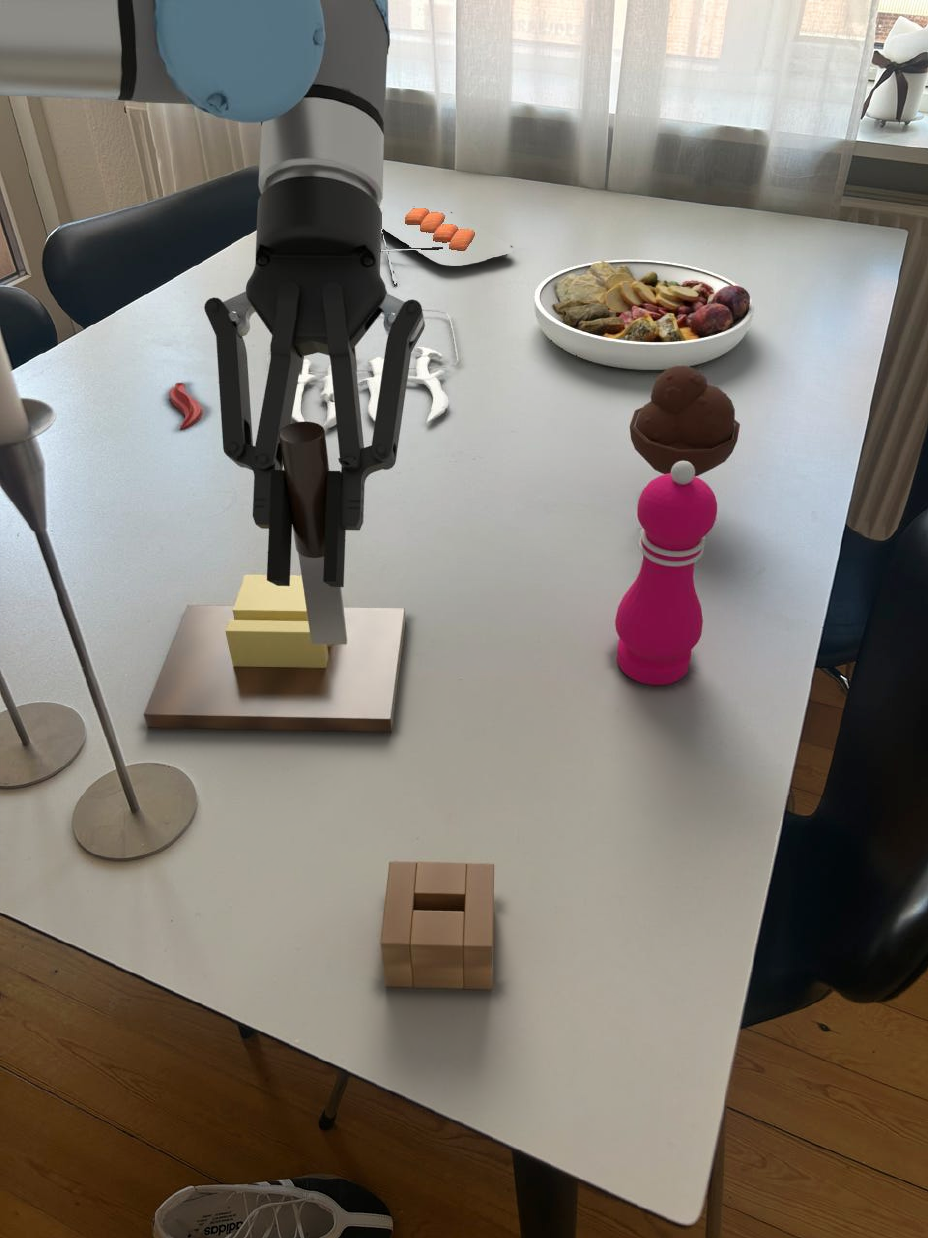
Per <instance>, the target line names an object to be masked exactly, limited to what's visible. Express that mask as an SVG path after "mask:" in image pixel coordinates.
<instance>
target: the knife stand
mask: <svg viewBox="0 0 928 1238" xmlns="http://www.w3.org/2000/svg"><path fill="white" fill-rule="evenodd" d="M494 908H495V863H487V862H486V863H485V862H484V863H483V862H454V861H453V862H451V861H450V862H448V861H399V860H398V861H397V860H390V861H389V862H388V871H387V879H386V888H385V897H384V906H383V915H382V924H381V933H380V941H379V945H380V953H381V961H382V970H383V971H382V972H383V978H384V986H385V987H387V988H388V987H390V988H391V987H392V988H418V989H419V988H421V989H422V988H424V989H453V990H454V989H456V990H457V989H458V990H463V989H464V990H488V991H489V990H492V989H493V979H494V978H493V975H494V974H493V973H494V971H493V970H494V920H495V918H494V916H495V915H494V913H495V912H494Z"/></svg>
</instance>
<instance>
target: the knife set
mask: <svg viewBox="0 0 928 1238" xmlns="http://www.w3.org/2000/svg"><path fill="white" fill-rule="evenodd" d="M422 312H434V313H435V312H436V313H441V314H444V315H446V316H447V318H448V320H449V322H450V326H451V332H452V336H453V342H454V348H455V349H454V350H455V355H456V362H455V363H454V364H452V365H450V366H449V367H455V366H456V365H457V364H458V362H459V354H458V348H457V343H456V336H455V331H454V326H453V322H452V319H451V317H450V316H449V314H448V313H447V312H445V311H442V310H434V309H422ZM270 346H271V343H270V344H269V346H268V347H269V348H268V351H267V353H266V361H267V363H268V365H270V361H269V354H270ZM413 351H414V352H416V353H418V354H420V357H418V358H417V359H416V360H415V361H416V366H415V367H409V370H415V371H416V376H412V375H408V379H407V383H413V384H419V385H425V386H426V387H427V388H428V389H429V391H430V394H431V395H432V404H431V408H430V413H429V414H428V416H427V421H426V423H429V422H431V421H433V420H435V419H436V418H438V417H439V416H441V415H442V414H444V413H445V412H446V410H447V408H448V407H449V397H448V395H447V394H446V392H445V391H444V390H443V388H442V385H441V384H442V383H441V382H440V380H439V379H440V378H442V376H444V374H445V371H444V370H443V369H447V368H448V366H429V364H430V362H431V360H432V359H431V358H435V359H437V360H441V359H443V358H444V356H443V354H442V353H440V352H439V351H437V350H434V349H431V348H428V347H424V346H416V347H414V349H413ZM366 363H367V364H368V366H369V367H371V369H357V373H359V372H372V374H373V377H366V378H363V379H361V380H360V381H358V387H363V386H366V385H367V387H368V390H369V392H370V399H369V401H368V405H367V413H368V414H369V417H370V418H371V420H373V421H374V422H375V418H376V412H377V405H378V398H379V391H380V384H381V377H382V370H383V363H384V358H383V357H381V356H376V357H375V358H374V359H372V360H370V359H367V361H366ZM312 364H313V362H312V361H311V360H309V359H307V358H304V361H303V367H302V370H301V372H300V373H299V377H298V383H297V389H296V395H295V400H294V406H293V412H292V418H291V419H293V420H294V421H296V422H306V421H305V418H304V416H303V415H302V399H303V397H302V396H303V393H304V390H305V386H306V385H307V384H308V383H309V382H311V381H313V380H314V379H316V378H317V376H316V375H313V374H326V375H325V376H323V377H322V378H321V379H320V381H319V382H320V383H321V384H322V385H323V390H321V392H320V394H319V398H320V400H322V401H323V402H326V403H327V404H326V406H327V409H326V410H327V412H326V420H325V422H324V424H323V425H322V427H323V428H333V427H334V426H337V423H336V413H335V402H334V392H333V382H332V371H331V362H330V363H329V365H328V367H327V369H326V371H309V370H310V366H311V365H312ZM429 369H439V370H437V371H436V372H432V373H430V371H429Z"/></svg>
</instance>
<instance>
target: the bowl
mask: <svg viewBox="0 0 928 1238" xmlns="http://www.w3.org/2000/svg"><path fill="white" fill-rule="evenodd" d="M533 304H534V305H533V307H534V314H535V315H534V316H535V318H536V321H537V323H538V325H539V327H540V328H541V330H542V332H543V333H544V334H545V336H546V337H547V338H548V339H549V340H550V341H551V340H552V341H551V342H552V343H554V344H555V346H557V347H559V348H561V349H562V348H563V349H562V350H564V351H566V352H567V353H568V354H571V355H574V356H576V355H577V356H576V357H578V358H580V359H583V360H585V361H588V362H591V363H595V364H599V365H603V366H607V367H613V368H618V369H627V370H637V371H639V370H640V371H666V370H667V369H669V368H671V367H674V366H689V367H691V366H696V365H701V364H704V363H706V362H707V363H708V362H710V361H712V360H715V359H717V358H719V357H721V356H723V355H725V354H727V353H728V352H729V351H731V350H732V349H734V348H735V347H736V346H737V345H738V344H739V343H740V342H741V341H742V340H743V339H744V337H745V336H746V335H747V333H748V331H749V329H750V327H751V324H752V321H753V319H754V318H753V317H754V313H755V305H754V301H753V299H752V297H751V295H750V293H749V292H748V290H746V289H745V287H742V286H741V285H739V284H738V283H736V282H734V281H733V280H731V279H729V278H727V277H725V276H723V275H720V274H718V273H715V272H712V271H710V270H706V269H704V268H699V267H696V266H692V265H687V264H681V263H676V262H670V261H669V262H668V261H662V260H661V261H660V260H649V259H615V260H613V259H612V260H601V261H594V262H589V263H583V264H579V265H574V266H571V267H568V268H566V269H562V270H559V271H558V272H556V273H553V274H552V275H550V276H548V277H547V278H545V279H544V280H543V281H542V282H541V283H540V284H539V285H538V286H537V288H536V290H535V292H534V301H533Z"/></svg>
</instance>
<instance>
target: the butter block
mask: <svg viewBox="0 0 928 1238" xmlns="http://www.w3.org/2000/svg"><path fill="white" fill-rule="evenodd" d="M233 606H234V607H233V610H232V611H233V616H234V620H268V621H308V616H307V609H306V603H305V596H304V589H303V582H302V575H301V574H300V575H296V574H295V575H294V574H290V586H277V585H275V584H273V583H271V582H269V581H267V574H244V575H243V578H242V580H241V584H240V587H239V589H238V592H237V596H236V598H235V601H234V605H233ZM327 647H331V644H327Z"/></svg>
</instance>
